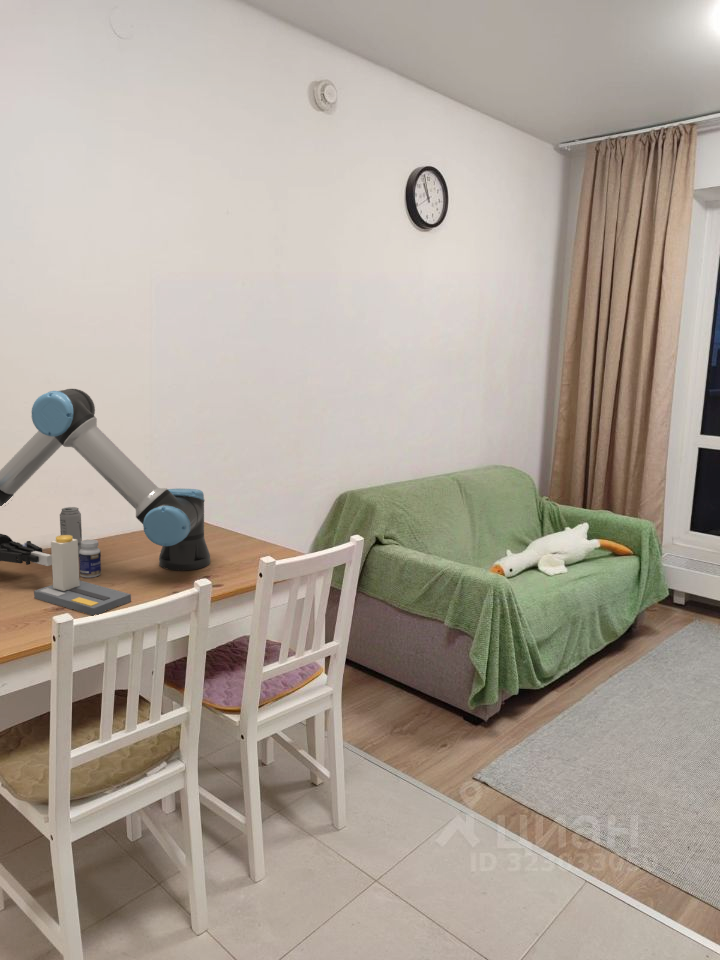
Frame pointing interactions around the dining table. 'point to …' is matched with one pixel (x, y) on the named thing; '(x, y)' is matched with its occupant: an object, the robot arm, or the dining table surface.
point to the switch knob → (65, 562)
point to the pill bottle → (90, 559)
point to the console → (84, 597)
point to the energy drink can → (71, 524)
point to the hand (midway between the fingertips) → (49, 560)
